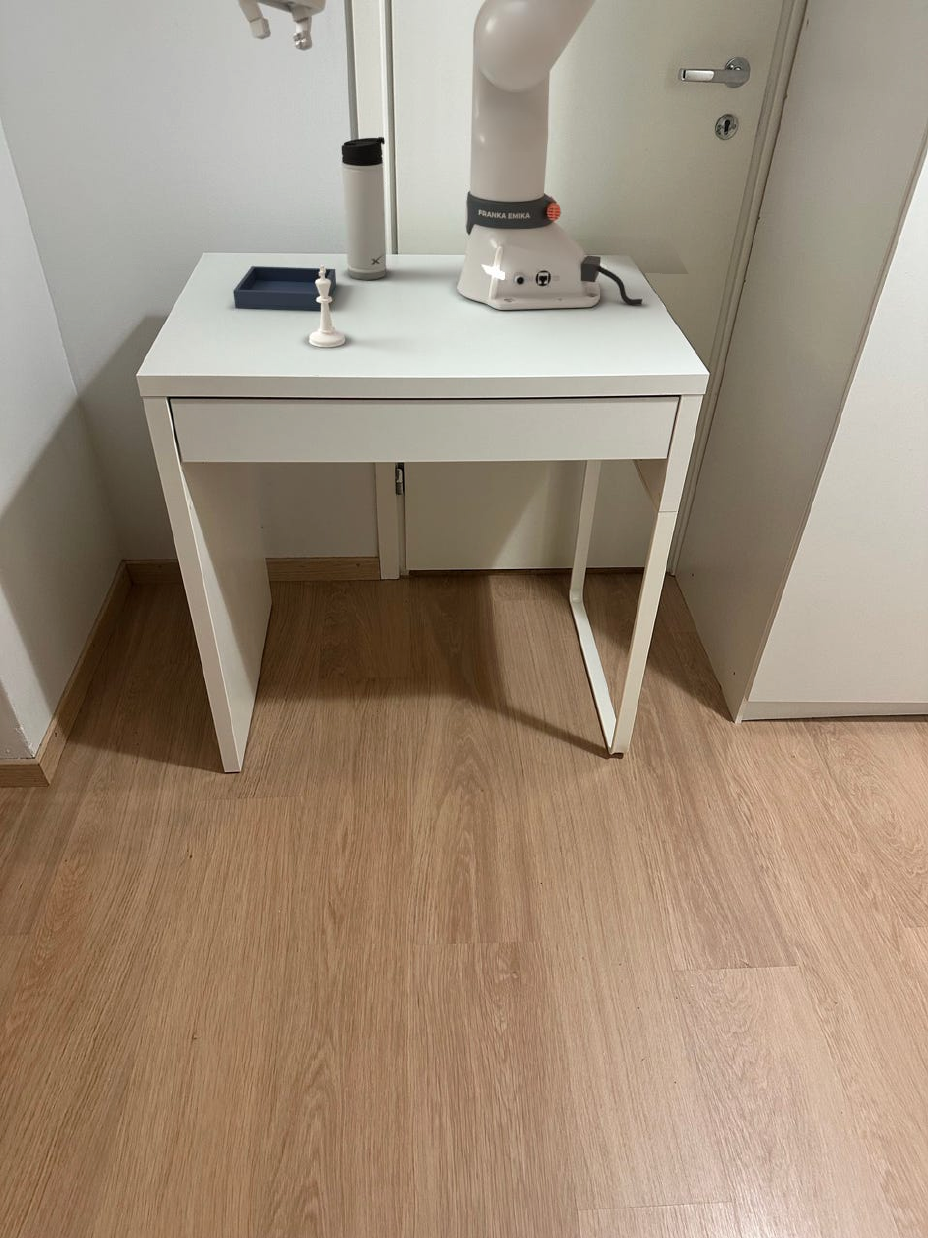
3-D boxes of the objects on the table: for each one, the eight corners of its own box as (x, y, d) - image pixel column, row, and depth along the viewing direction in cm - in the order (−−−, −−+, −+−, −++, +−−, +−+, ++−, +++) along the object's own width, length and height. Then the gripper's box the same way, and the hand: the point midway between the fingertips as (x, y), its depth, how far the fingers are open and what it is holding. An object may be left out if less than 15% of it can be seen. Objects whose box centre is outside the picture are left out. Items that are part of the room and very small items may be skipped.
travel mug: (386, 280, 142) (382, 141, 130) (345, 279, 142) (337, 140, 130) (390, 269, 147) (386, 134, 134) (350, 267, 147) (343, 132, 134)
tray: (336, 284, 140) (335, 268, 138) (323, 310, 130) (322, 293, 129) (253, 281, 140) (251, 265, 138) (235, 307, 130) (233, 290, 129)
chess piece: (349, 336, 122) (345, 261, 116) (339, 348, 119) (334, 272, 112) (315, 333, 123) (309, 258, 117) (304, 345, 119) (297, 269, 113)
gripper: (221, -122, 98) (254, 20, 103) (320, -74, 115) (345, 47, 120) (178, -100, 101) (213, 37, 106) (281, -56, 118) (307, 61, 123)
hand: (284, 43), depth 113 cm, fingers open, 8 cm apart
